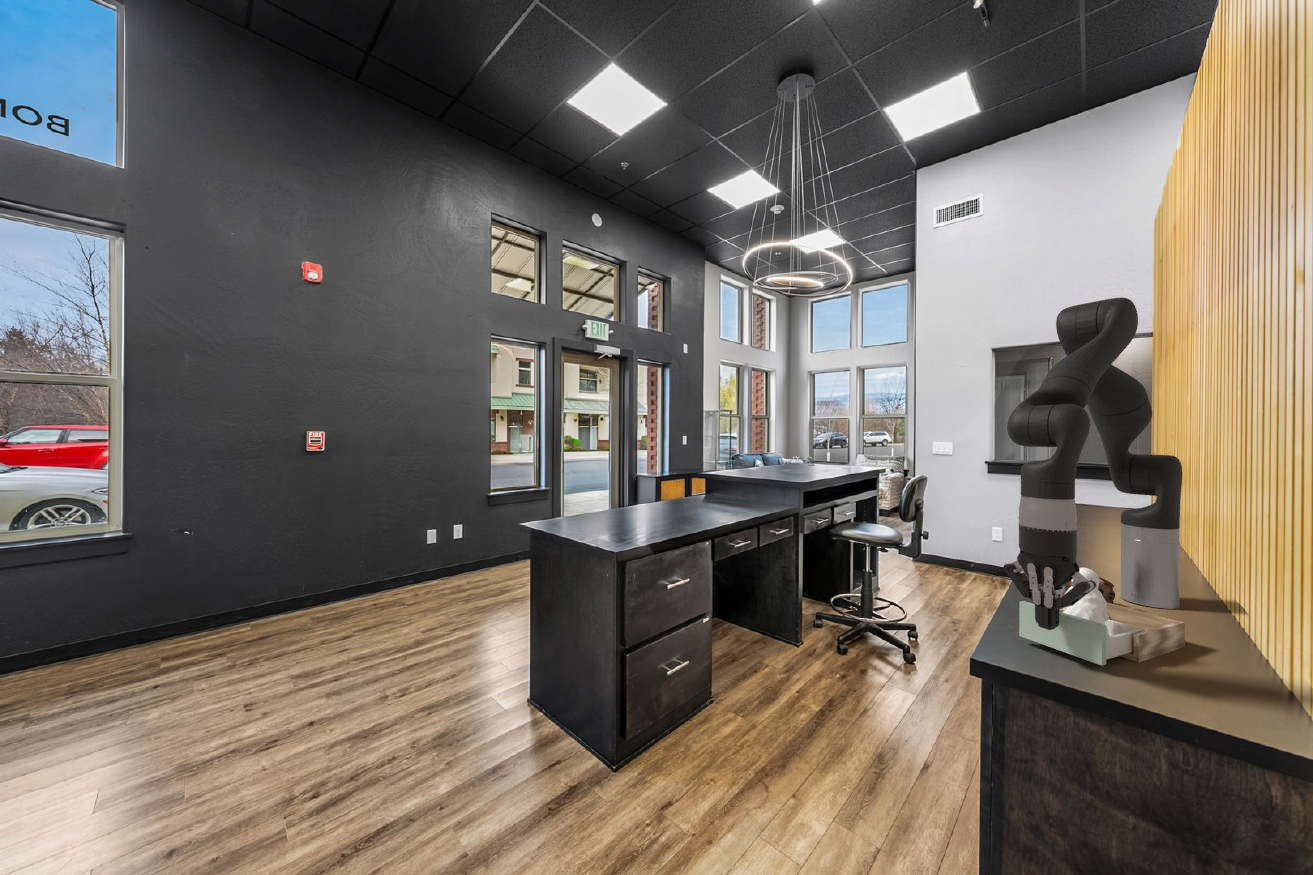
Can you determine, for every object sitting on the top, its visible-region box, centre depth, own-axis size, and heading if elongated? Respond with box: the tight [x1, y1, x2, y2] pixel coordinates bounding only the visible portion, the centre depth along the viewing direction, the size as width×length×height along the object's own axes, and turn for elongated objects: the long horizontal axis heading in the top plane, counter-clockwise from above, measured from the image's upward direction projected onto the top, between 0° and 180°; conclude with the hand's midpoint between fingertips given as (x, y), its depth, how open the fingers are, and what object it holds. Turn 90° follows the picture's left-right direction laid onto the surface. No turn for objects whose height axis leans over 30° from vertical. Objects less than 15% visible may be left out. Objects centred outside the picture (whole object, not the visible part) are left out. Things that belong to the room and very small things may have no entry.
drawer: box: [1018, 600, 1144, 666], centre depth 83 cm, size 14×12×6 cm
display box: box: [1059, 602, 1186, 664], centre depth 87 cm, size 15×12×4 cm
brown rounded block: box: [1062, 576, 1116, 604], centre depth 103 cm, size 12×9×8 cm
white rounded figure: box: [1062, 567, 1109, 637], centre depth 83 cm, size 6×8×12 cm
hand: (1046, 627), depth 79 cm, fingers closed
